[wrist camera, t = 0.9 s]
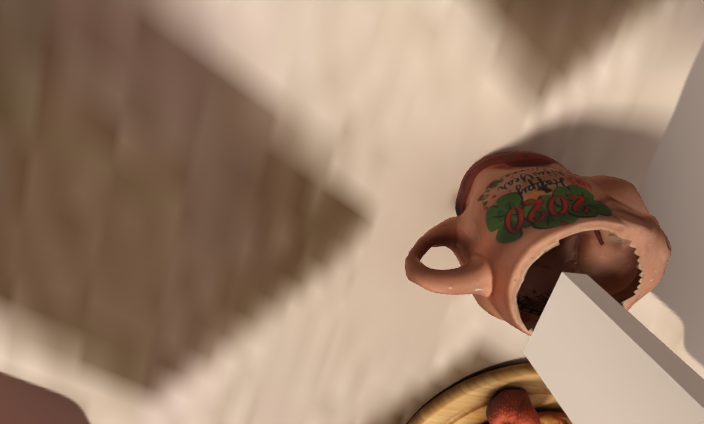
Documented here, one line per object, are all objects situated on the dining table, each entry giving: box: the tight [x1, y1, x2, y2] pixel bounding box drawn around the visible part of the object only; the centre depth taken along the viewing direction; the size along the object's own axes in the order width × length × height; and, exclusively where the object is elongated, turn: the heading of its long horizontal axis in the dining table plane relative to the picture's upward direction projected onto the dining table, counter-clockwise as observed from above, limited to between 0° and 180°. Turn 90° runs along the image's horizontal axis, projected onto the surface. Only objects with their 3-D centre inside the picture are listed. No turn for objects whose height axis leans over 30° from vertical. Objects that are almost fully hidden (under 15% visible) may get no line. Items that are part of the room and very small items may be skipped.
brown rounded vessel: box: [405, 152, 671, 336], centre depth 35 cm, size 20×12×14 cm, turn 101°
